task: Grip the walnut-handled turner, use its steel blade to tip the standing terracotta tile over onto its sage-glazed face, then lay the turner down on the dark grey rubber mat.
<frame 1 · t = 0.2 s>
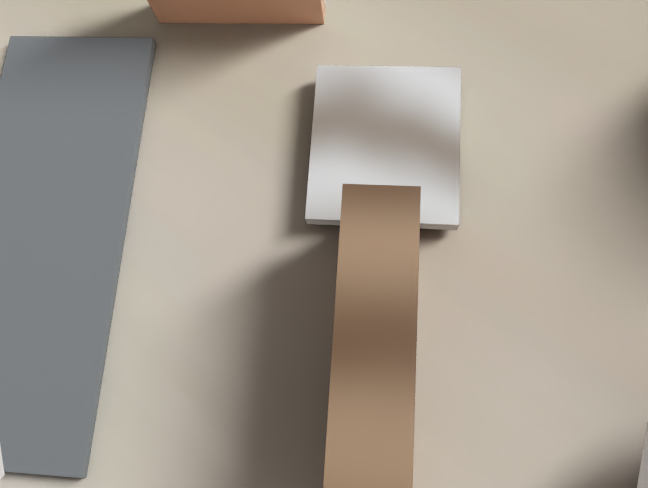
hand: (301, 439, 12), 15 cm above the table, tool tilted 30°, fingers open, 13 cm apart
tool mat: (47, 235, 31), on the table
tile: (242, 12, 34), on the table
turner: (375, 357, 28), on the table
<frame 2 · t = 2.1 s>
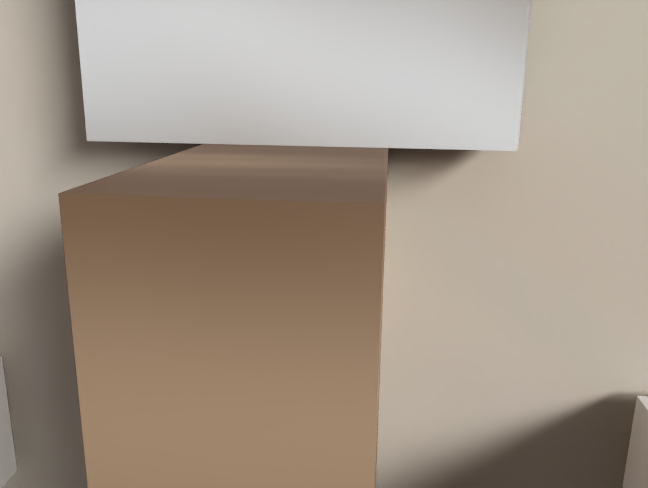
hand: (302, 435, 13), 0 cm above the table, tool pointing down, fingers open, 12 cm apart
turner: (305, 430, 13), on the table
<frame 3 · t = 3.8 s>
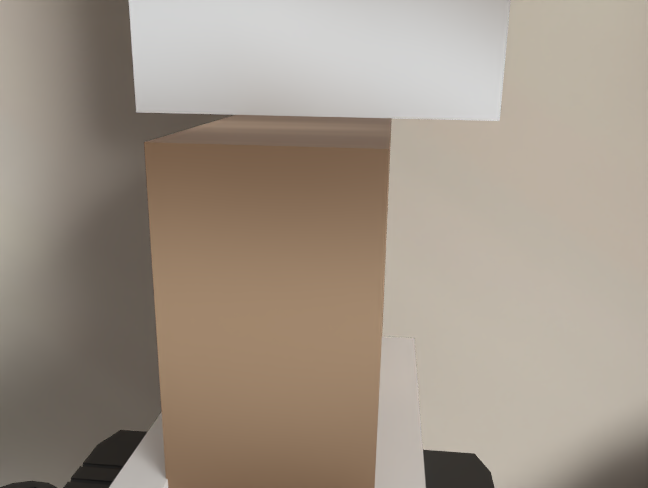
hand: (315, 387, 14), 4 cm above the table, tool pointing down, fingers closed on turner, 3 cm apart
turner: (317, 367, 15), point 4 cm above the table, touching gripper
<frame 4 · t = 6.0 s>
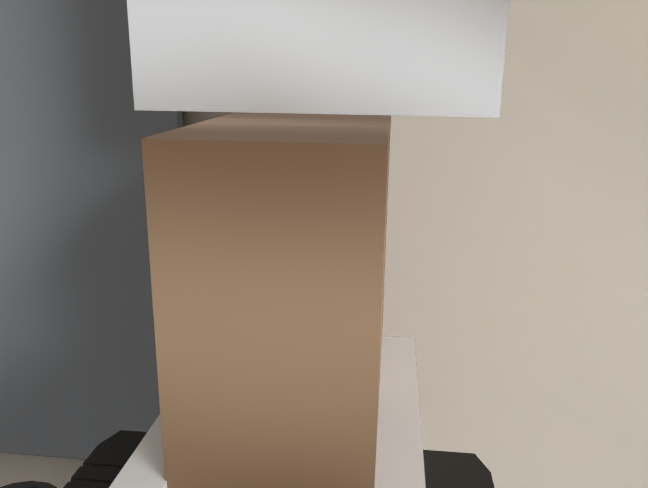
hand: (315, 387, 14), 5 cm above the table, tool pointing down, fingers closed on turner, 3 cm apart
tool mat: (51, 118, 18), on the table
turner: (317, 365, 15), point 4 cm above the table, touching gripper
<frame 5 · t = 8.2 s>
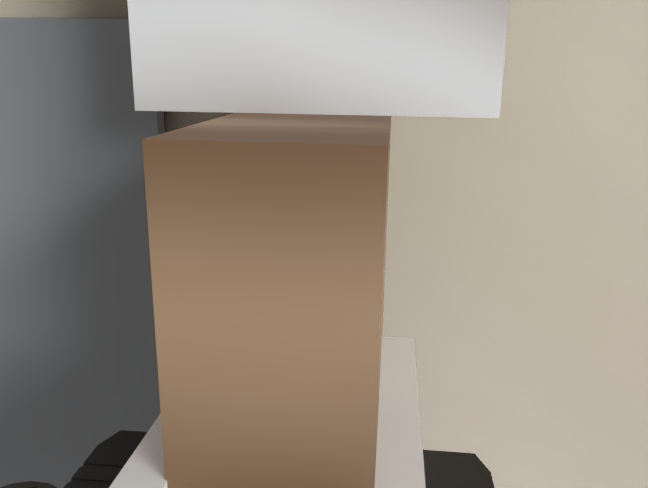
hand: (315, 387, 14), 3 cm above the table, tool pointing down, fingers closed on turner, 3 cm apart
tool mat: (53, 399, 19), on the table
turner: (317, 366, 15), point 3 cm above the table, touching gripper
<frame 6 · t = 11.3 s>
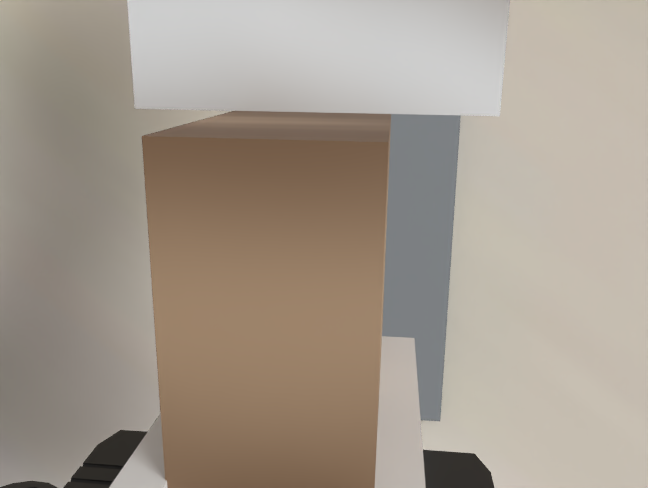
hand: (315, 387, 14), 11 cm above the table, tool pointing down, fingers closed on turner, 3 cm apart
tool mat: (352, 157, 24), on the table
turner: (317, 364, 15), point 11 cm above the table, touching gripper
when the fingers open (1 cm above the table, at t = 13.3 s): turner stays where it is, resting on tool mat.
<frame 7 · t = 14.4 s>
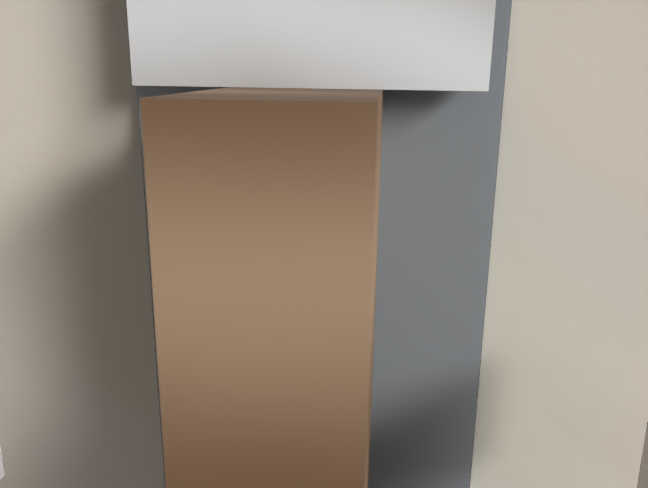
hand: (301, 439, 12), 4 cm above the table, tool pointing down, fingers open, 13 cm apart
tool mat: (317, 192, 15), on the table
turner: (312, 340, 15), resting on tool mat
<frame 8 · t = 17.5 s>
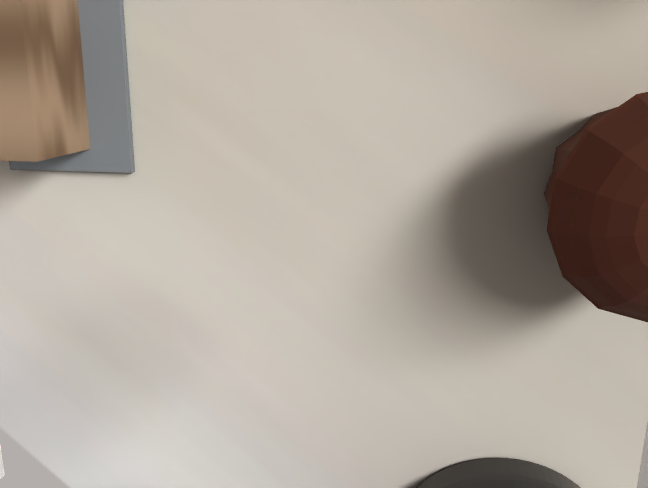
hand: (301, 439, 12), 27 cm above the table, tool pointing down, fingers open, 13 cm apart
muffin: (621, 184, 36), on the table
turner: (57, 47, 37), resting on tool mat
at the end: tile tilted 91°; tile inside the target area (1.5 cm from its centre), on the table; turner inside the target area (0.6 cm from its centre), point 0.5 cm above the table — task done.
